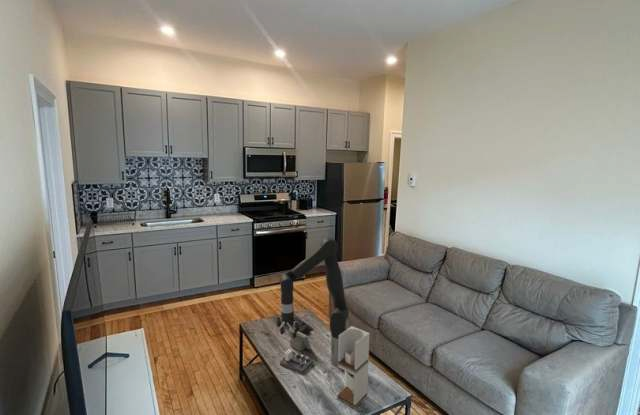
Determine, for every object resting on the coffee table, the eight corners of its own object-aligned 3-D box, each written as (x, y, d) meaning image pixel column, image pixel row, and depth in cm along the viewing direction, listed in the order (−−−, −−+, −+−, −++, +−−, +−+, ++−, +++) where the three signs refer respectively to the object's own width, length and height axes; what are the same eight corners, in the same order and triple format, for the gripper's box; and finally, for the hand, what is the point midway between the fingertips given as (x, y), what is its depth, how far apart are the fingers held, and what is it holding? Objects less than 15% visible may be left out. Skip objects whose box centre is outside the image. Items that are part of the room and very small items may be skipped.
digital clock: (312, 350, 212) (312, 334, 210) (300, 355, 206) (300, 339, 204) (297, 338, 224) (297, 323, 222) (286, 343, 219) (286, 328, 217)
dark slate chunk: (298, 318, 252) (298, 312, 251) (314, 331, 234) (314, 325, 233) (280, 323, 243) (280, 317, 243) (295, 338, 225) (295, 331, 225)
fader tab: (292, 357, 199) (292, 350, 198) (288, 361, 196) (288, 353, 195) (289, 356, 200) (288, 348, 200) (284, 360, 197) (284, 352, 196)
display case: (350, 386, 179) (351, 326, 173) (367, 395, 173) (369, 333, 167) (337, 398, 171) (338, 335, 164) (354, 408, 164) (356, 343, 158)
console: (314, 362, 199) (314, 357, 198) (302, 374, 189) (302, 368, 188) (292, 354, 207) (292, 348, 206) (280, 364, 197) (279, 359, 196)
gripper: (301, 309, 192) (302, 335, 195) (281, 304, 199) (282, 329, 202) (293, 315, 186) (294, 342, 188) (273, 309, 193) (274, 335, 195)
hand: (288, 335), depth 195 cm, fingers open, 8 cm apart
